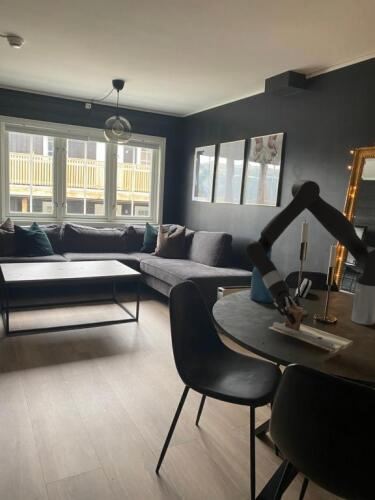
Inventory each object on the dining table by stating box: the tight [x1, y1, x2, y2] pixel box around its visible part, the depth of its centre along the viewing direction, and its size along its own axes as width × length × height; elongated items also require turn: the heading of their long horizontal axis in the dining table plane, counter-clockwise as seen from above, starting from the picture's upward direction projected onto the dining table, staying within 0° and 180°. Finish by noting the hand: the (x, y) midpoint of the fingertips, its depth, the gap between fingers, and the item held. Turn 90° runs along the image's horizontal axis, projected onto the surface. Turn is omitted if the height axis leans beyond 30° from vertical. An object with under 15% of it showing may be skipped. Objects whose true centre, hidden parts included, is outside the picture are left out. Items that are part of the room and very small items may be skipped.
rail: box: [272, 321, 335, 349], centre depth 140 cm, size 2×25×2 cm, turn 41°
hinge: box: [294, 278, 312, 299], centre depth 212 cm, size 17×5×10 cm, turn 162°
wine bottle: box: [249, 246, 276, 304], centre depth 193 cm, size 14×13×30 cm
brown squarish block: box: [284, 305, 304, 330], centre depth 147 cm, size 4×4×9 cm
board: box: [268, 322, 354, 356], centre depth 144 cm, size 16×26×2 cm, turn 41°
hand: (298, 322), depth 145 cm, fingers closed on brown squarish block, 4 cm apart
